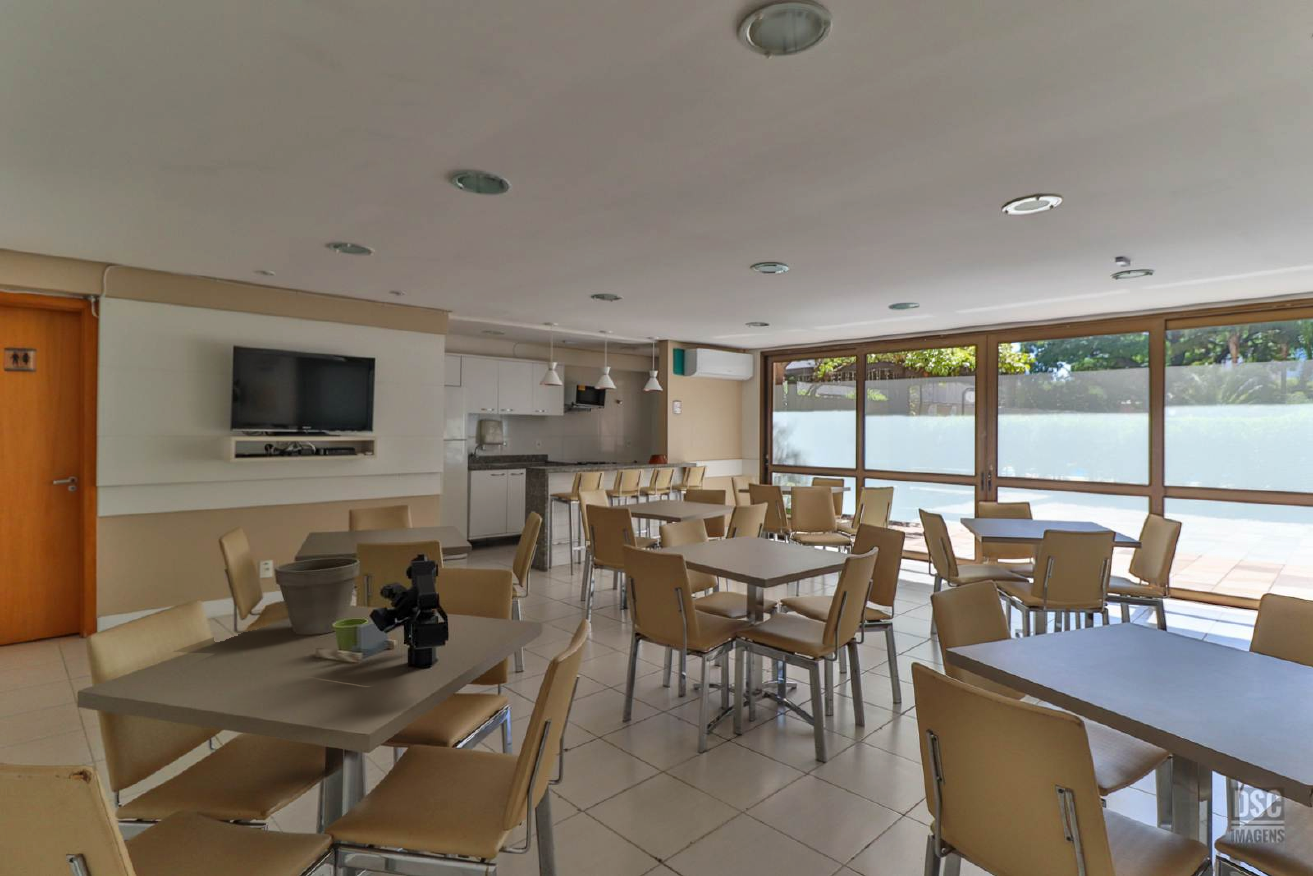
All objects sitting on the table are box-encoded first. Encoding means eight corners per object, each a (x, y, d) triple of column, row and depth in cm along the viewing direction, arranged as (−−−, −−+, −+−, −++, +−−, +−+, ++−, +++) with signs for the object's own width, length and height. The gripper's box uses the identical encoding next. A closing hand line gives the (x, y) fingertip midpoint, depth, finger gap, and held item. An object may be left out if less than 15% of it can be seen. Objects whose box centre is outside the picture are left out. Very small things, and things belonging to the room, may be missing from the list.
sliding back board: (387, 649, 193) (387, 618, 193) (360, 659, 183) (360, 627, 184) (377, 648, 194) (377, 617, 194) (350, 658, 185) (350, 626, 185)
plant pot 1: (255, 638, 206) (256, 569, 206) (308, 618, 230) (308, 556, 230) (329, 641, 202) (329, 571, 202) (374, 620, 226) (374, 557, 227)
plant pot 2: (358, 657, 187) (358, 626, 187) (326, 657, 187) (326, 626, 187) (373, 647, 196) (373, 618, 196) (342, 647, 196) (342, 618, 196)
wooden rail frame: (397, 648, 194) (397, 640, 194) (358, 663, 181) (358, 654, 181) (355, 643, 200) (355, 635, 200) (315, 657, 187) (315, 648, 187)
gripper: (423, 568, 194) (393, 603, 198) (374, 580, 177) (343, 618, 180) (444, 597, 191) (414, 631, 195) (397, 612, 173) (365, 649, 177)
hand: (385, 632), depth 187 cm, fingers closed
